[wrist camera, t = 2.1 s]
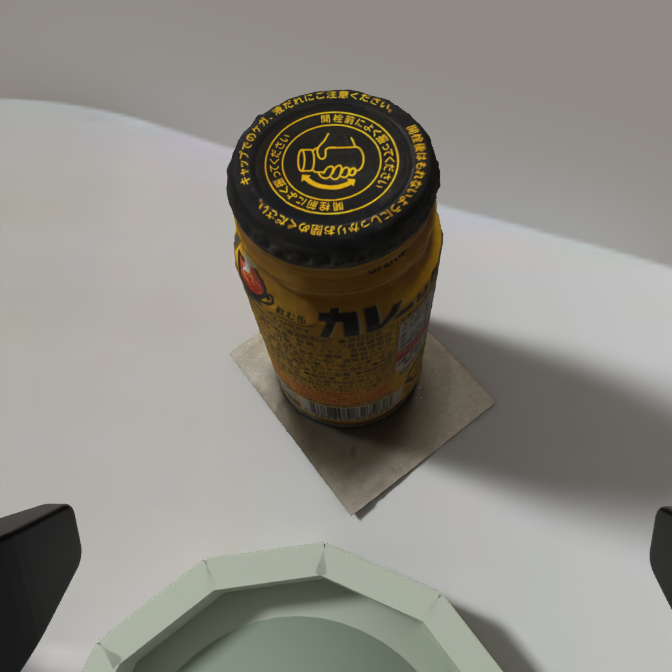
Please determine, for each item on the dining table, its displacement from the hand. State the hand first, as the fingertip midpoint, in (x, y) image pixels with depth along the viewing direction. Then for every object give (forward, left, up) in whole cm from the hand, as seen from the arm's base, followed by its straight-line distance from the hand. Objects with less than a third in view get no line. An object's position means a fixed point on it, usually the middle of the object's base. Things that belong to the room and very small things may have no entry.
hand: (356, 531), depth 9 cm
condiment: (+8, -1, -13) cm, 16 cm away
